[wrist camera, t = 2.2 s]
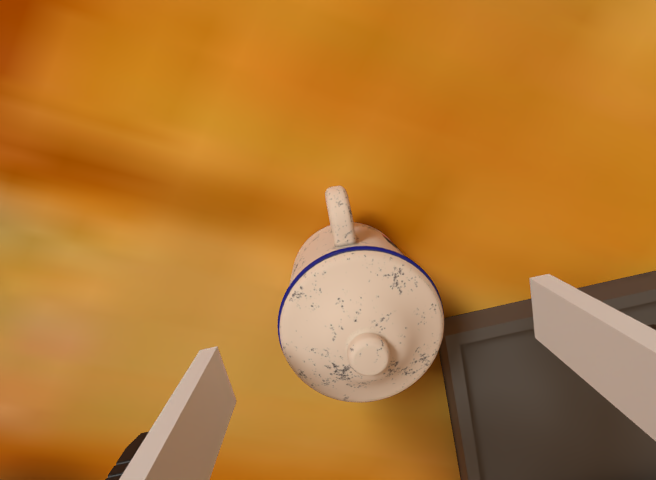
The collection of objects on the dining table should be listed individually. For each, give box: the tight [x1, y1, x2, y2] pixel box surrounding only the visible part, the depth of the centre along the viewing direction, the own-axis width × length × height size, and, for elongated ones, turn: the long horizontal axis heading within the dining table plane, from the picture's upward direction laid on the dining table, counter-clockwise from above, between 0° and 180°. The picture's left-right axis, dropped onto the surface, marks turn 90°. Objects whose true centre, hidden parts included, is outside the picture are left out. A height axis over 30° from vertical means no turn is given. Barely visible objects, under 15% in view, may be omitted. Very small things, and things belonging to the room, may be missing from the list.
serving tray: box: [439, 271, 656, 480], centre depth 29 cm, size 24×22×2 cm
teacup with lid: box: [278, 186, 444, 402], centre depth 21 cm, size 12×9×12 cm
